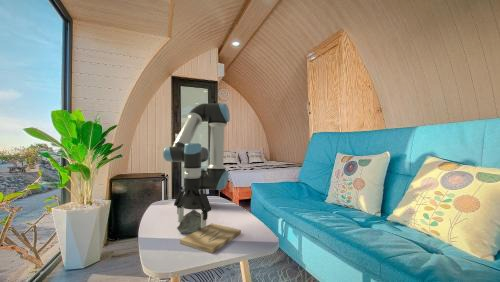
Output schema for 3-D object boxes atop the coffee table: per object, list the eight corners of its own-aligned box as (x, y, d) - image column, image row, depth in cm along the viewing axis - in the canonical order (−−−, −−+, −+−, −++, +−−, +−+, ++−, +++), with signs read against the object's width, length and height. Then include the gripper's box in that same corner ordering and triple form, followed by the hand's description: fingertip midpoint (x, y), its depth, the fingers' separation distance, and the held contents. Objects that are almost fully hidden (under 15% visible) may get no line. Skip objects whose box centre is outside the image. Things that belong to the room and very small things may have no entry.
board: (211, 226, 103) (211, 223, 103) (240, 233, 96) (240, 229, 96) (179, 243, 86) (179, 239, 86) (212, 253, 78) (212, 249, 78)
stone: (188, 211, 94) (198, 204, 104) (172, 225, 95) (183, 216, 105) (202, 229, 93) (210, 220, 102) (185, 243, 94) (195, 233, 104)
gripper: (166, 176, 102) (165, 221, 101) (208, 180, 90) (208, 232, 89) (178, 174, 108) (178, 217, 108) (219, 178, 96) (219, 226, 96)
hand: (191, 224), depth 99 cm, fingers open, 13 cm apart
